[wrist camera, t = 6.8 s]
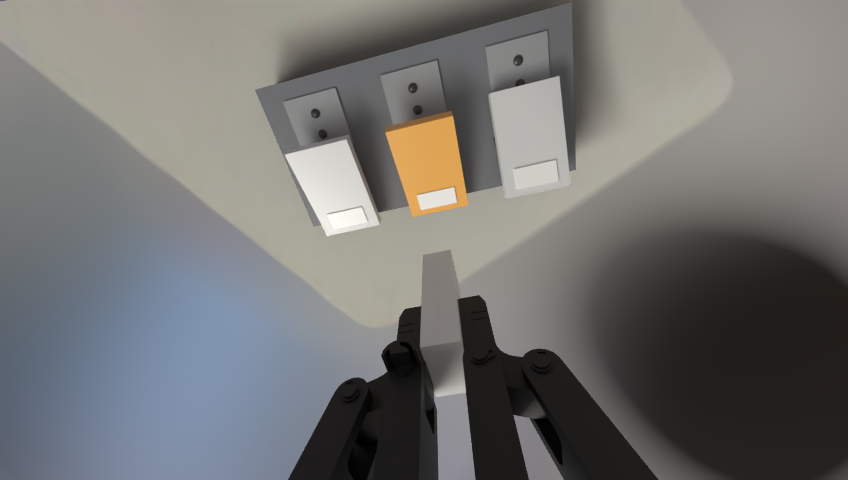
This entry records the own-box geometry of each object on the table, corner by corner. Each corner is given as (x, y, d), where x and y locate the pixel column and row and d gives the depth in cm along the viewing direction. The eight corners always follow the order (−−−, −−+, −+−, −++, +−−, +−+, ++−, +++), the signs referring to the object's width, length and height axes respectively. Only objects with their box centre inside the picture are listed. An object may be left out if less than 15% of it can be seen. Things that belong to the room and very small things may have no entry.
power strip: (274, 88, 28) (250, 90, 24) (554, 10, 25) (576, -1, 22) (324, 212, 33) (311, 229, 30) (560, 160, 31) (579, 171, 27)
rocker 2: (385, 126, 24) (385, 133, 23) (451, 110, 24) (453, 116, 23) (412, 210, 29) (412, 217, 29) (466, 198, 29) (468, 205, 28)
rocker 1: (288, 149, 25) (283, 155, 24) (348, 134, 25) (346, 139, 24) (329, 229, 30) (327, 236, 29) (380, 218, 30) (379, 225, 29)
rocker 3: (488, 95, 25) (490, 93, 24) (554, 78, 24) (559, 75, 23) (504, 197, 27) (506, 199, 26) (565, 184, 26) (571, 185, 25)
